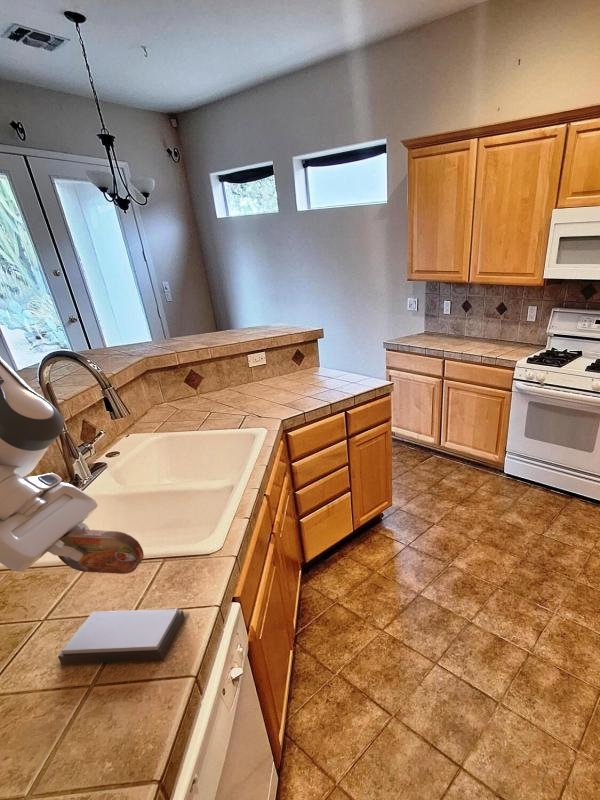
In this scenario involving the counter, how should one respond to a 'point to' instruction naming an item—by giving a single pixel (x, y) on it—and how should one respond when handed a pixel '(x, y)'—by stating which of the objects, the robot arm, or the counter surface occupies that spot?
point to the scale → (123, 636)
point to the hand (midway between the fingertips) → (89, 550)
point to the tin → (103, 551)
